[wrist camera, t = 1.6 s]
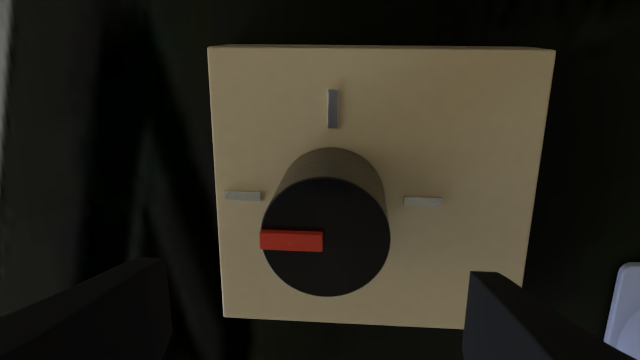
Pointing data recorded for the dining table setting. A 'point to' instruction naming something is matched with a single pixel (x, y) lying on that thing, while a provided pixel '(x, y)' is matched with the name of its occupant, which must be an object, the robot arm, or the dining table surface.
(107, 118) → the dining table surface
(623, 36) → the dining table surface
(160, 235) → the dining table surface
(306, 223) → the knob
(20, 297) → the dining table surface
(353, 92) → the panel
